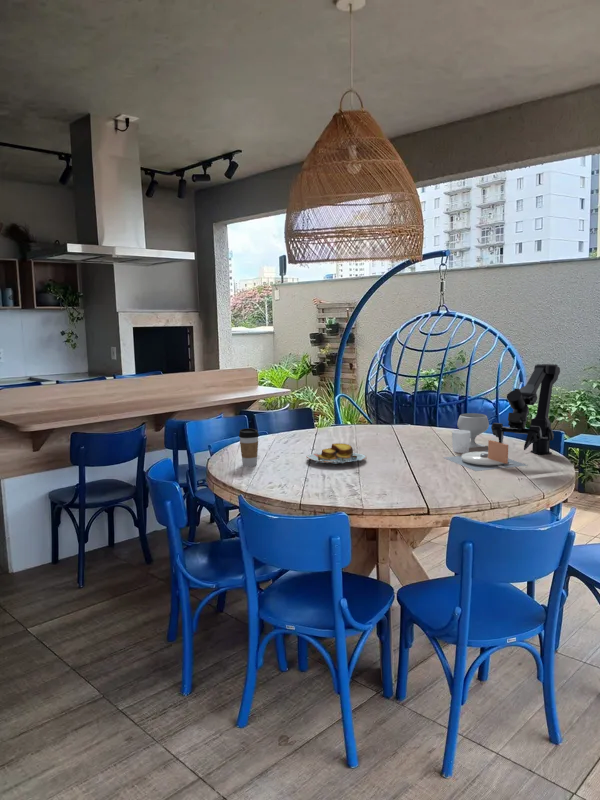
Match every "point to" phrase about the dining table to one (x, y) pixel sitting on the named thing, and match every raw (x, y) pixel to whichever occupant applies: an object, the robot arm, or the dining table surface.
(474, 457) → the dial
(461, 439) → the white cup
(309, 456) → the food on plate
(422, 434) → the dining table surface
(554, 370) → the robot arm
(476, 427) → the chalice
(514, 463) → the board
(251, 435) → the coffee cup
